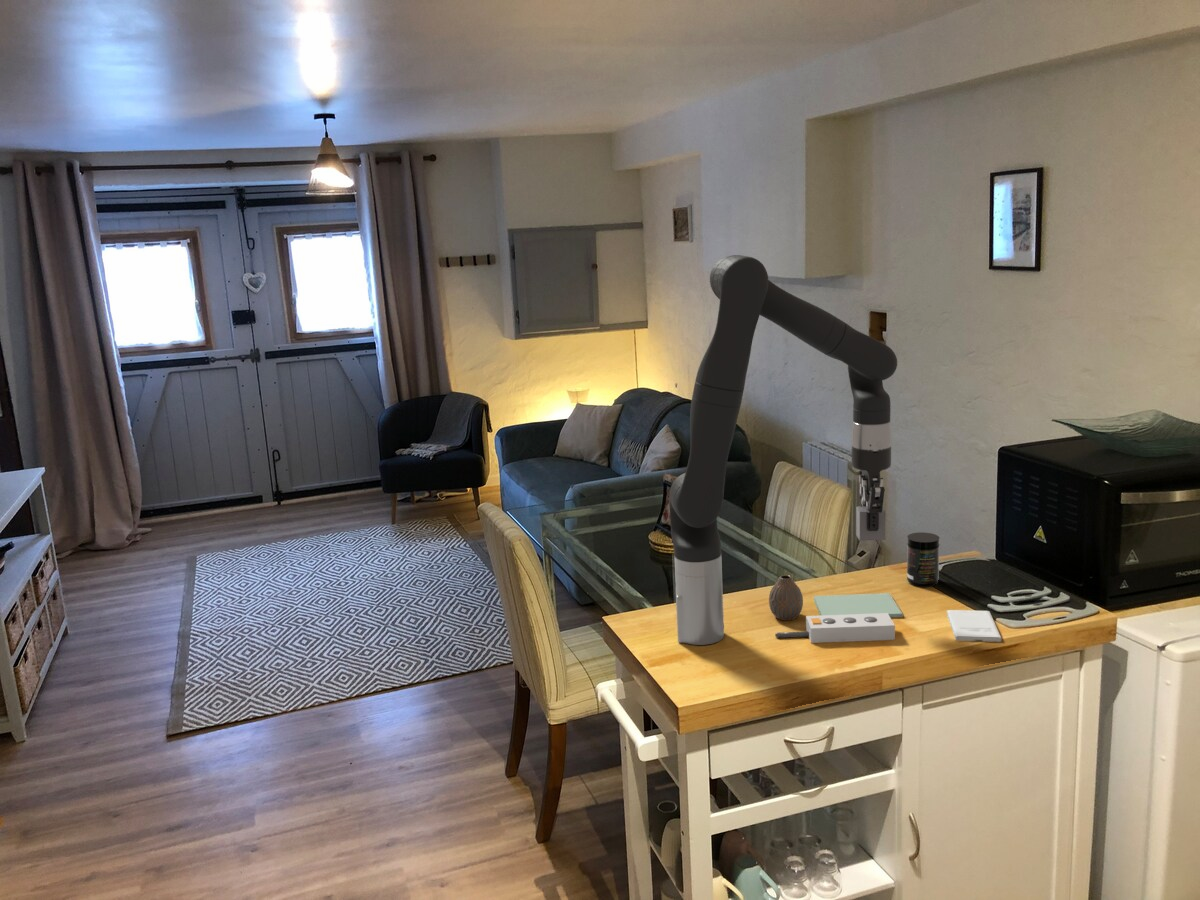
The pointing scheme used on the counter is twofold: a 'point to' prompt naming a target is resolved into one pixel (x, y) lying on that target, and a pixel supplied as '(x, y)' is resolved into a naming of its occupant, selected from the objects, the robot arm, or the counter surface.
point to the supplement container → (923, 559)
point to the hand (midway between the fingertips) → (870, 526)
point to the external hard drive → (973, 625)
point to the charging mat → (857, 604)
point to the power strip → (846, 628)
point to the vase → (785, 599)
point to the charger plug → (862, 525)
